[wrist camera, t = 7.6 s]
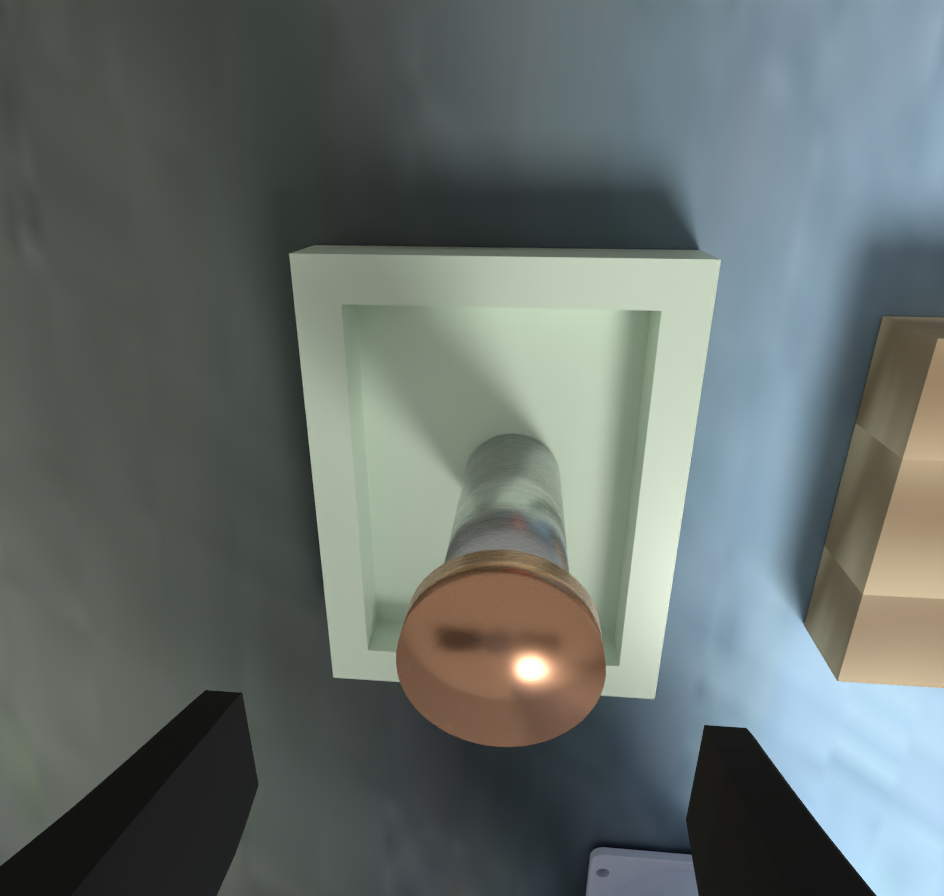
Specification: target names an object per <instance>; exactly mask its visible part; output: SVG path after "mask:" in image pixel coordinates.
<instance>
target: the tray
mask: <svg viewBox="0 0 944 896" xmlns="http://www.w3.org/2000/svg"><path fill="white" fill-rule="evenodd" d="M289 258H290V267H291V277H292V286H293V296H294V306H295V315H296V325H297V334H298V344H299V353H300V363H301V373H302V382H303V392H304V401H305V411H306V420H307V430H308V440H309V449H310V459H311V468H312V478H313V488H314V497H315V507H316V516H317V526H318V535H319V545H320V555H321V564H322V574H323V583H324V593H325V603H326V612H327V622H328V631H329V641H330V650H331V660H332V670H333V678H347V679H362V680H377V681H392V682H400V681H399V677H398V674H397V667H396V650H397V645H398V640H399V637H400V633H401V630H402V627H403V623H404V620H405V616H406V613H407V609H408V606H409V603H410V601H411V598H412V596H413V594H414V592H415V591H416V589H417V587H418V586H419V585H420V584H421V582H422V581H423V580H424V579H425V578H426V577H427V576H428V575H429V574H430V573H431V572H432V571H434V570H435V569H436V568H438V567H439V566H441V565H442V564H444V563H445V558H446V554H447V550H448V545H449V541H450V536H451V532H452V528H453V523H454V519H455V514H456V510H457V506H458V501H459V497H460V492H461V488H462V484H463V479H464V475H465V470H466V466H467V463H468V460H469V458H470V456H471V455H472V453H473V452H474V450H475V449H476V448H477V447H478V446H479V445H481V444H482V443H483V442H485V441H486V440H488V439H490V438H492V437H495V436H498V435H502V434H522V435H526V436H529V437H532V438H534V439H536V440H538V441H540V442H541V443H543V444H544V445H545V446H546V447H547V448H548V449H549V450H550V451H551V452H552V454H553V455H554V457H555V458H556V461H557V463H558V466H559V470H560V478H561V489H562V500H563V511H564V522H565V533H566V544H567V555H568V566H569V574H571V575H572V576H573V577H574V578H575V579H576V580H577V581H578V582H579V583H580V584H581V585H582V586H583V587H584V588H585V590H586V591H587V593H588V594H589V596H590V597H591V599H592V601H593V603H594V605H595V607H596V610H597V613H598V616H599V621H600V628H601V634H602V641H603V648H604V654H605V661H606V678H605V683H604V687H603V690H602V693H601V695H600V696H615V697H630V698H645V699H655V694H656V687H657V681H658V674H659V667H660V661H661V654H662V647H663V641H664V634H665V628H666V621H667V614H668V608H669V601H670V594H671V588H672V581H673V575H674V568H675V561H676V555H677V548H678V541H679V535H680V528H681V522H682V515H683V508H684V502H685V495H686V488H687V482H688V475H689V468H690V462H691V455H692V449H693V442H694V435H695V429H696V422H697V415H698V409H699V402H700V396H701V389H702V382H703V376H704V369H705V362H706V356H707V349H708V342H709V336H710V329H711V323H712V316H713V309H714V303H715V296H716V289H717V283H718V276H719V270H720V263H721V259H719V258H716V257H714V256H712V255H710V254H708V253H706V252H703V251H701V250H654V249H576V248H499V247H422V246H345V245H314V246H311V247H307V248H304V249H301V250H298V251H295V252H292V253H289Z"/></svg>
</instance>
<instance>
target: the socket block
mask: <svg viewBox="0 0 944 896" xmlns="http://www.w3.org/2000/svg"><path fill="white" fill-rule="evenodd" d="M804 626H805V628H806V630H807V631H808V633H809V635H810V636H811V638H812V640H813V641H814V643H815V645H816V646H817V648H818V649H819V651H820V653H821V654H822V656H823V658H824V659H825V661H826V663H827V664H828V666H829V668H830V669H831V671H832V673H833V674H834V676H835V678H836V679H837V681H842V682H857V683H873V684H889V685H904V686H920V687H936V688H944V317H904V316H883V317H882V321H881V325H880V329H879V333H878V337H877V341H876V345H875V349H874V353H873V357H872V361H871V364H870V368H869V372H868V376H867V380H866V384H865V388H864V392H863V396H862V400H861V404H860V408H859V412H858V415H857V419H856V423H855V427H854V431H853V435H852V439H851V443H850V447H849V451H848V455H847V459H846V462H845V466H844V470H843V474H842V478H841V482H840V486H839V490H838V494H837V498H836V502H835V506H834V510H833V513H832V517H831V521H830V525H829V529H828V533H827V537H826V541H825V545H824V549H823V553H822V557H821V560H820V564H819V568H818V572H817V576H816V580H815V584H814V588H813V592H812V596H811V600H810V604H809V608H808V611H807V615H806V619H805V623H804Z"/></svg>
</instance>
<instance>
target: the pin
mask: <svg viewBox="0 0 944 896" xmlns="http://www.w3.org/2000/svg"><path fill="white" fill-rule="evenodd" d="M396 667H397V674H398V677H399V681H400V684H401V686H402V688H403V690H404V692H405V694H406V696H407V697H408V699H409V700H410V702H411V703H412V705H413V706H414V707H415V708H416V709H417V710H418V712H419V713H421V714H422V715H423V716H424V717H425V718H426V719H427V720H428V721H430V722H431V723H433V724H434V725H435V726H437V727H438V728H440V729H442V730H443V731H445V732H447V733H449V734H451V735H453V736H456V737H458V738H460V739H463V740H466V741H470V742H473V743H477V744H482V745H488V746H496V747H518V746H527V745H532V744H537V743H541V742H544V741H548V740H550V739H553V738H555V737H558V736H560V735H562V734H564V733H565V732H567V731H569V730H571V729H572V728H573V727H575V726H576V725H577V724H579V723H580V722H581V721H582V720H583V719H584V718H585V717H586V716H587V715H588V714H589V713H590V712H591V710H592V709H593V708H594V707H595V705H596V703H597V701H598V700H599V698H600V695H601V693H602V690H603V687H604V683H605V678H606V661H605V654H604V648H603V641H602V634H601V628H600V621H599V616H598V613H597V610H596V607H595V605H594V603H593V601H592V599H591V597H590V596H589V594H588V593H587V591H586V590H585V588H584V587H583V586H582V585H581V584H580V583H579V582H578V581H577V580H576V579H575V578H574V577H573V576H572V575H571V574H569V566H568V555H567V544H566V533H565V522H564V511H563V500H562V489H561V478H560V470H559V466H558V463H557V461H556V458H555V457H554V455H553V454H552V452H551V451H550V450H549V449H548V448H547V447H546V446H545V445H544V444H543V443H541V442H540V441H538V440H536V439H534V438H532V437H529V436H526V435H522V434H502V435H498V436H495V437H492V438H490V439H488V440H486V441H485V442H483V443H482V444H481V445H479V446H478V447H477V448H476V449H475V450H474V452H473V453H472V455H471V456H470V458H469V460H468V463H467V466H466V470H465V475H464V479H463V484H462V488H461V492H460V497H459V501H458V506H457V510H456V514H455V519H454V523H453V528H452V532H451V536H450V541H449V545H448V550H447V554H446V558H445V563H444V564H442V565H441V566H439V567H438V568H436V569H435V570H434V571H432V572H431V573H430V574H429V575H428V576H427V577H426V578H425V579H424V580H423V581H422V582H421V584H420V585H419V586H418V587H417V589H416V591H415V592H414V594H413V596H412V598H411V601H410V603H409V606H408V609H407V613H406V616H405V620H404V623H403V627H402V630H401V633H400V637H399V640H398V645H397V650H396Z"/></svg>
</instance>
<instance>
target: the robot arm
mask: <svg viewBox="0 0 944 896" xmlns="http://www.w3.org/2000/svg"><path fill="white" fill-rule="evenodd" d="M257 788H258V779H257V774H256V768H255V763H254V757H253V751H252V746H251V740H250V734H249V729H248V723H247V718H246V712H245V706H244V701H243V695H242V693H237V692H223V691H208V690H205V691H204V692H203V693H202V694H201V695H200V696H198V697H197V698H196V699H195V700H194V701H193V702H192V703H190V704H189V705H188V706H187V707H186V708H185V709H184V710H182V711H181V712H180V713H179V714H178V715H177V716H176V717H175V718H173V719H172V720H171V721H170V722H169V723H168V724H167V725H166V726H165V727H163V728H162V729H161V730H160V731H159V732H158V733H157V734H156V735H155V736H153V737H152V738H151V739H150V740H149V741H148V742H147V743H146V744H145V745H143V746H142V747H141V748H140V749H139V750H138V751H137V752H136V753H134V754H133V755H132V756H131V757H130V758H129V759H128V760H127V761H126V762H124V763H123V764H122V765H121V766H120V767H119V768H118V769H116V770H115V771H114V772H113V773H112V774H111V775H109V776H108V777H107V778H106V779H105V780H104V781H103V782H101V783H100V784H99V785H98V786H97V787H96V788H94V789H93V790H92V791H91V792H90V793H89V794H88V795H86V796H85V797H84V798H83V799H82V800H81V801H80V802H78V803H77V804H76V805H75V806H74V807H72V808H71V809H70V810H69V811H68V812H67V813H65V814H64V815H63V816H62V817H61V818H59V819H58V820H57V821H56V822H54V823H53V824H52V825H51V826H49V827H48V828H47V829H46V830H45V831H43V832H42V833H41V834H40V835H38V836H37V837H36V838H35V839H33V840H32V841H31V842H30V843H29V844H27V845H26V846H25V847H24V848H22V849H21V850H20V851H19V852H17V853H16V854H15V855H14V856H13V857H11V858H10V859H9V860H8V861H6V862H5V863H4V864H3V865H1V866H0V896H217V893H218V891H219V889H220V887H221V885H222V882H223V880H224V878H225V876H226V874H227V871H228V869H229V867H230V865H231V862H232V860H233V858H234V856H235V853H236V850H237V848H238V845H239V842H240V839H241V836H242V833H243V830H244V828H245V825H246V822H247V819H248V816H249V813H250V810H251V806H252V803H253V800H254V797H255V794H256V791H257ZM686 822H687V828H688V835H689V841H690V847H691V854H692V855H690V854H678V853H667V852H655V851H643V850H631V849H620V848H608V847H599V848H596V849H594V850H593V851H592V852H591V854H590V861H589V869H588V878H587V887H586V896H876V895H875V893H874V892H873V891H872V890H871V889H870V887H869V886H868V885H867V884H866V882H865V881H864V880H863V879H862V877H861V876H860V875H859V874H858V873H857V871H856V870H855V869H854V868H853V866H852V865H851V864H850V863H849V861H848V860H847V859H846V858H845V856H844V855H843V854H842V853H841V851H840V850H839V849H838V848H837V846H836V845H835V844H834V843H833V841H832V840H831V839H830V838H829V836H828V835H827V834H826V833H825V831H824V830H823V829H822V827H821V826H820V825H819V824H818V822H817V821H816V820H815V818H814V817H813V816H812V815H811V813H810V812H809V811H808V809H807V808H806V807H805V805H804V804H803V803H802V801H801V800H800V799H799V797H798V796H797V795H796V793H795V792H794V791H793V789H792V788H791V787H790V785H789V784H788V783H787V781H786V780H785V779H784V777H783V776H782V775H781V773H780V772H779V771H778V769H777V768H776V766H775V765H774V764H773V762H772V761H771V760H770V758H769V757H768V755H767V754H766V753H765V751H764V750H763V749H762V747H761V746H760V745H759V743H758V742H757V740H756V739H755V738H754V736H753V735H752V734H751V733H750V732H749V731H748V729H747V728H738V727H723V726H709V725H704V730H703V736H702V741H701V746H700V751H699V756H698V761H697V767H696V772H695V777H694V782H693V787H692V792H691V797H690V803H689V808H688V813H687V818H686Z"/></svg>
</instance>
